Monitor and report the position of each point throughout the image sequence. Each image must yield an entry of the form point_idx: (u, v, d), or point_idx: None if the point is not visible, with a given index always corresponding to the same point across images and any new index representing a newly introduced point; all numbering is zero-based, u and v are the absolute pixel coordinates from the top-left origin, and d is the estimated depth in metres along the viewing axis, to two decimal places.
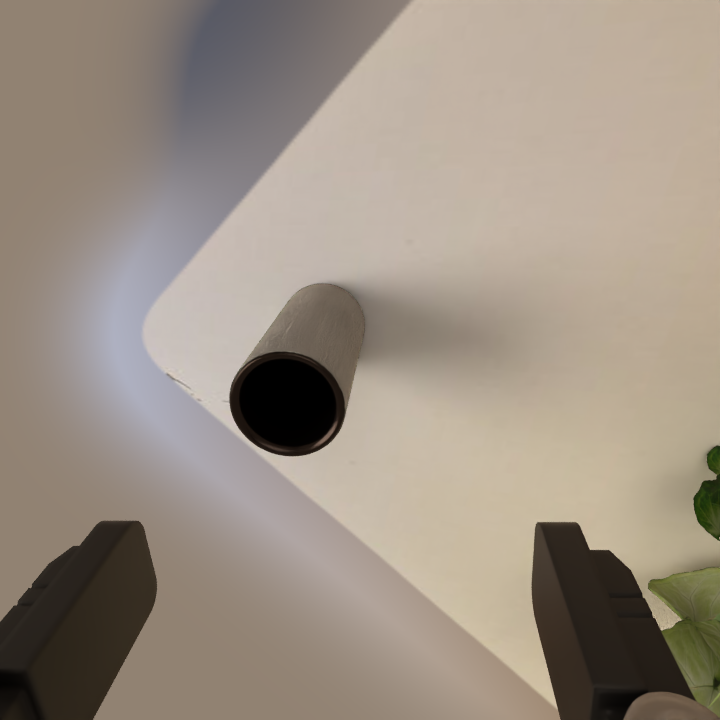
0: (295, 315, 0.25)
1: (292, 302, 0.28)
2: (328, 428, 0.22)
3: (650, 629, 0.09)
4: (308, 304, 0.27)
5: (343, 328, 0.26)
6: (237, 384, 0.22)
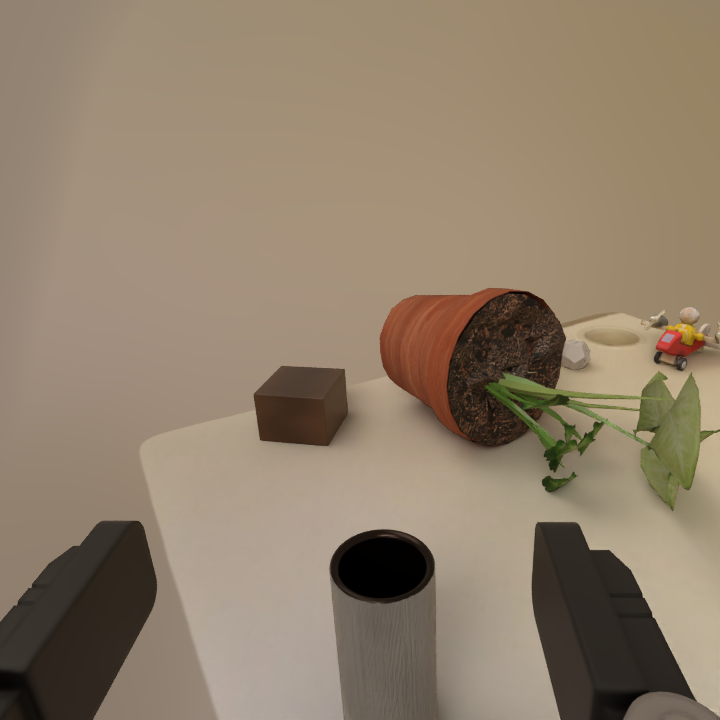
0: None
1: None
2: (412, 545, 0.26)
3: (650, 629, 0.09)
4: None
5: None
6: (349, 590, 0.23)
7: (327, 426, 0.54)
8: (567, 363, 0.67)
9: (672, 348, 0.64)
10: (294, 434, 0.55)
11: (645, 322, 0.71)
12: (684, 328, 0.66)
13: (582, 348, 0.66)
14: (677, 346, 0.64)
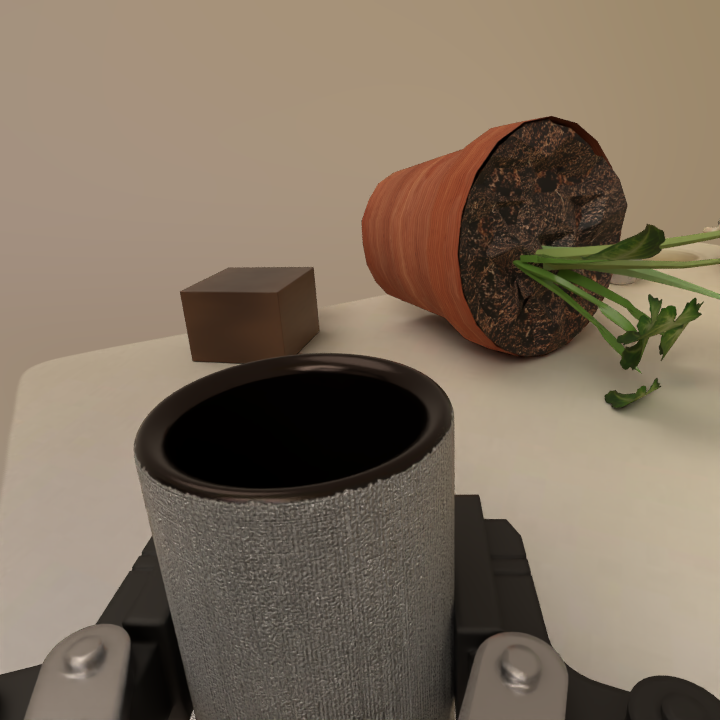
0: None
1: None
2: (390, 381, 0.09)
3: (525, 585, 0.10)
4: None
5: None
6: (170, 471, 0.07)
7: (285, 336, 0.37)
8: (612, 276, 0.51)
9: None
10: (239, 349, 0.38)
11: (710, 228, 0.55)
12: None
13: None
14: None
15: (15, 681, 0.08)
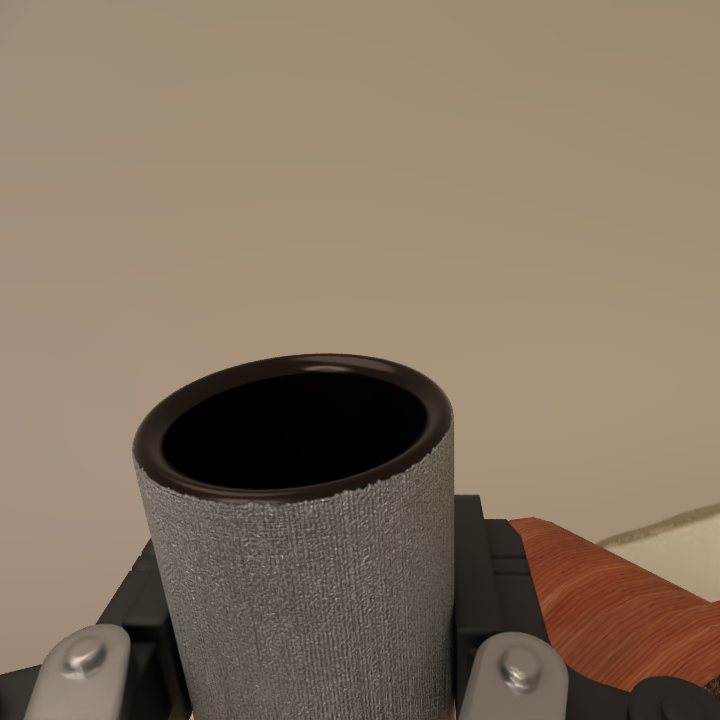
0: None
1: None
2: (389, 381, 0.09)
3: (525, 585, 0.10)
4: None
5: None
6: (169, 472, 0.07)
7: None
8: None
9: None
10: None
11: None
12: None
13: None
14: None
15: (15, 682, 0.08)
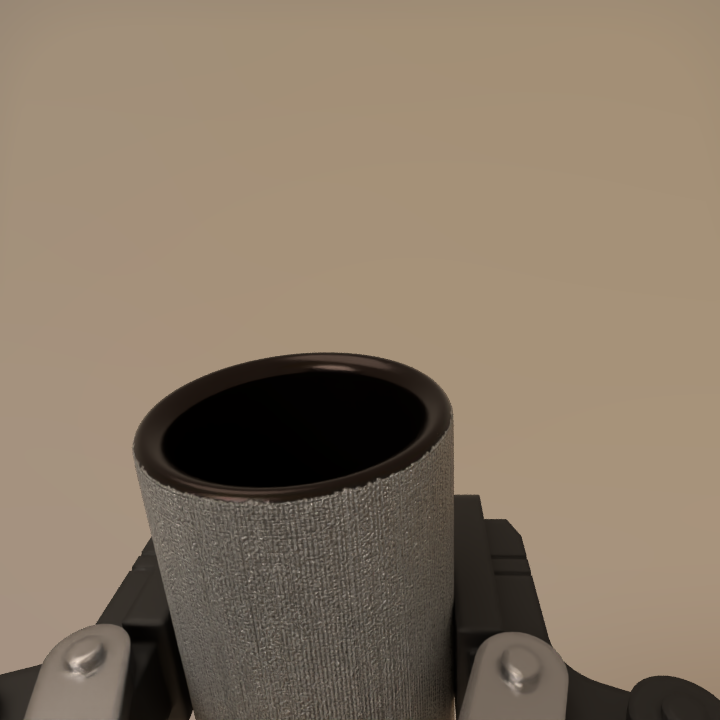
0: None
1: None
2: (390, 380, 0.09)
3: (525, 585, 0.10)
4: None
5: None
6: (169, 470, 0.07)
7: None
8: None
9: None
10: None
11: None
12: None
13: None
14: None
15: (15, 681, 0.08)
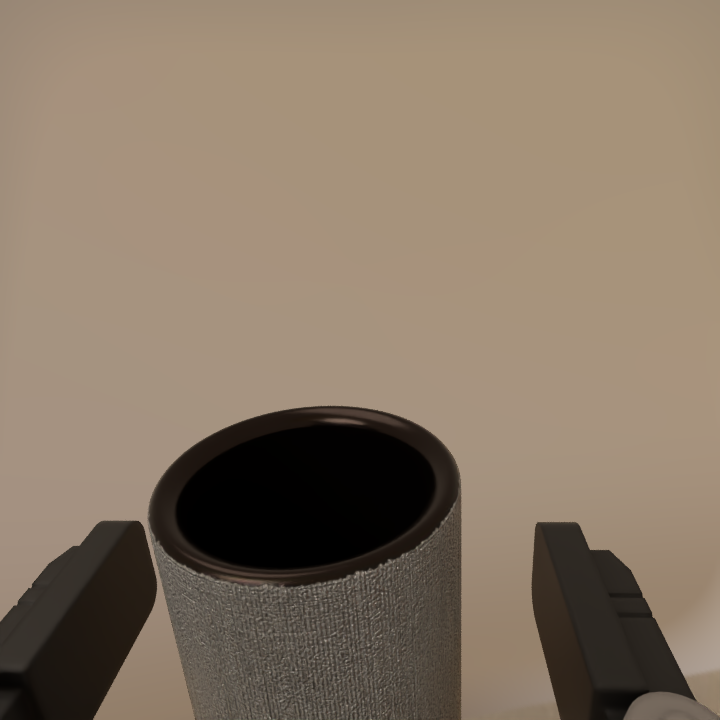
0: None
1: None
2: (397, 437, 0.10)
3: (650, 629, 0.09)
4: None
5: None
6: (184, 546, 0.07)
7: None
8: None
9: None
10: None
11: None
12: None
13: None
14: None
15: None
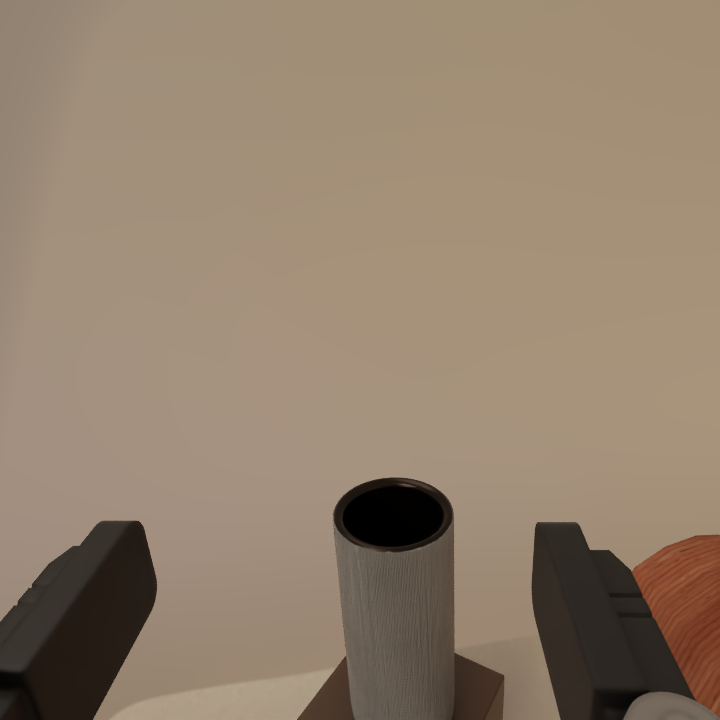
0: None
1: (347, 664, 0.24)
2: (427, 494, 0.23)
3: (650, 629, 0.09)
4: None
5: None
6: (355, 539, 0.20)
7: None
8: None
9: None
10: None
11: None
12: None
13: None
14: None
15: None
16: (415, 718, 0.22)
